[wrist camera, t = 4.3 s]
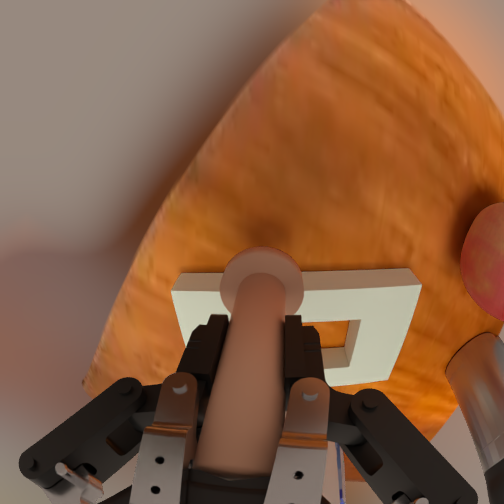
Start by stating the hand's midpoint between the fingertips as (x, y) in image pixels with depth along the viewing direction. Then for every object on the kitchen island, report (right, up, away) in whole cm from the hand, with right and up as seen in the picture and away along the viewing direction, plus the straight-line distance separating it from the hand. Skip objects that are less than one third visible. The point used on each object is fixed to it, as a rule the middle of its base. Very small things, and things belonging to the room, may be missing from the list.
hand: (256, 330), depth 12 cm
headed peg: (0, +2, +4) cm, 4 cm away
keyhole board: (+4, -4, +13) cm, 14 cm away
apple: (+21, +5, +7) cm, 23 cm away
